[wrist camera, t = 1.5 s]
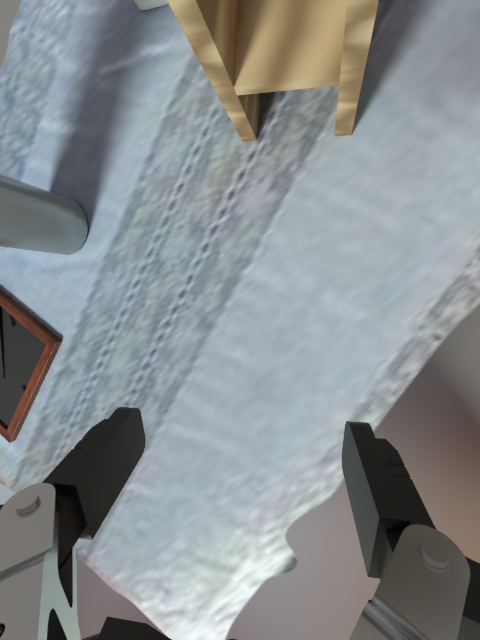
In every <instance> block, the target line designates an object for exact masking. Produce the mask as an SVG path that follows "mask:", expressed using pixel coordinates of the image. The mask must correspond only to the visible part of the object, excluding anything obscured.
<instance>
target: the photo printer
mask: <svg viewBox="0 0 480 640" xmlns="http://www.w3.org/2000/svg"><path fill="white" fill-rule="evenodd" d="M133 1H134V2H135V4H136V5H137V6H138V8H139V9H141V10H148V9H152V8H156V7H160V6H163V5H167V4H169V3H168V1H167V0H133Z"/></svg>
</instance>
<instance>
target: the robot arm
mask: <svg viewBox="0 0 480 640" xmlns="http://www.w3.org/2000/svg"><path fill="white" fill-rule="evenodd" d="M87 232H88V223H87V218H86V215H85V213H84V210H83V209H82V208H81V206H80V205H79V204H78V203H77V202H75V201H73V200H71V199H69V198H66V197H63V196H60V195H57V194H54V193H52V192H49V191H46V190H43V189H40V188H38V187H35V186H32V185H29V184H26V183H23V182H21V181H18V180H15V179H12V178H9V177H6V176H3V175H1V174H0V246H2V247H10V248H17V249H25V250H33V251H41V252H48V253H56V254H65V255H69V254H73V253H75V252H77V251H78V250H79V249H80V248H81V247H82V246H83V244H84V242H85V240H86V237H87ZM144 448H145V434H144V428H143V422H142V417H141V412H140V410H139V409H138V408H128V407H119V408H117V409H116V410H115V412H114V413H113V414H112V415H111V416H110V417H109V419H104V420H103V421H101V422H100V423H98V424H97V425H95V426H94V427H92V428H91V429H90V430H89V431H88V432H87V433H86V435H85V436H84V437H83V438H82V440H80V441H79V442H78V443H77V445H76V446H75V447H74V449H72V450H71V451H70V452H69V453H68V455H67V456H66V457H65V458H64V459H63V460H62V461H61V462H60V463H59V465H58V466H57V467H56V468H55V469H54V470H53V471H52V472H51V473H50V475H49V476H48V477H47V478H46V479H45V480H44V481H43V482H42V483H38V484H34V485H31V486H29V487H26V488H24V489H23V490H21V491H19V492H18V493H16V494H15V495H14V496H12V497H11V498H10V499H9V500H8V501H7V502H6V503H5V504H4V505H0V640H81V638H80V632H79V627H78V619H77V580H76V549H75V546H74V545H75V543H76V542H77V540H78V538H81V539H88V540H92V539H93V538H94V536H95V534H96V533H97V531H98V529H99V528H100V526H101V524H102V522H103V521H104V519H105V517H106V516H107V514H108V512H109V510H110V509H111V507H112V505H113V504H114V502H115V500H116V499H117V497H118V495H119V493H120V492H121V490H122V488H123V487H124V485H125V483H126V482H127V480H128V478H129V476H130V475H131V473H132V471H133V470H134V468H135V466H136V465H137V463H138V461H139V459H140V458H141V456H142V454H143V451H144ZM342 468H343V474H344V478H345V482H346V486H347V491H348V495H349V499H350V503H351V508H352V512H353V516H354V520H355V524H356V528H357V533H358V537H359V541H360V545H361V550H362V554H363V558H364V562H365V567H366V571H367V575H368V577H373V578H380V580H381V581H380V583H379V585H378V588H377V590H376V592H375V594H374V596H373V598H372V600H369V601H368V602H367V603H366V605H365V607H364V609H363V611H362V613H361V615H360V617H359V620H358V622H357V624H356V626H355V628H354V630H353V633H352V635H351V637H350V639H349V640H480V563H477V562H475V561H473V560H471V559H469V558H467V557H466V556H464V554H463V553H462V551H461V550H460V549H459V547H458V546H457V545H456V544H455V543H454V542H453V541H452V540H450V539H449V538H448V537H447V536H446V535H444V534H443V533H441V532H440V531H438V530H436V528H435V526H434V524H433V522H432V520H431V518H430V516H429V514H428V512H427V510H426V508H425V506H424V504H423V502H422V500H421V498H420V496H419V494H418V492H417V490H416V488H415V485H414V483H413V481H412V480H411V479H410V476H409V473H408V471H407V469H406V467H404V463H403V461H402V459H401V457H400V455H399V453H398V451H397V450H396V449H395V448H394V447H393V446H392V445H391V444H390V443H389V442H388V441H387V440H386V439H377V438H375V436H374V433H373V431H372V428H371V426H370V424H369V423H365V422H349V421H347V422H346V424H345V432H344V440H343V449H342ZM82 640H171V639H170V638H168V637H167V636H165V635H163V634H162V633H160V632H159V631H157V630H156V629H154V628H152V627H151V626H149V625H148V624H146V623H140V622H135V621H129V620H123V619H117V618H112V617H107V618H106V621H105V623H104V625H103V628H102V630H101V632H100V633H99V634H95V635H92V636H90V637H87V638H85V639H82ZM230 640H235V639H230Z"/></svg>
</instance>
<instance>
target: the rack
mask: <svg viewBox="0 0 480 640" xmlns="http://www.w3.org/2000/svg"><path fill="white" fill-rule="evenodd" d="M167 1H168V3H169V5H170V7H171V9H172V11H173V13H174V14H175V16H176V18H177V20H178V22H179V24H180V26H181V28H182V29H183V31H184V33H185V35H186V37H187V39H188V41H189V42H190V44H191V46H192V48H193V50H194V52H195V54H196V56H197V57H198V59H199V61H200V63H201V65H202V67H203V69H204V70H205V72H206V74H207V76H208V78H209V80H210V82H211V84H212V85H213V87H214V89H215V91H216V93H217V95H218V97H219V98H220V100H221V102H222V104H223V106H224V108H225V110H226V112H227V113H228V115H229V117H230V119H231V121H232V123H233V125H234V126H235V128H236V130H237V132H238V134H239V136H240V138H241V140H242V141H255V140H257V130H258V117H259V104H260V93H266V92H276V91H286V90H296V89H306V88H316V87H325V86H335V85H339V94H338V104H337V115H336V126H335V136H343V135H352V130H353V125H354V120H355V115H356V111H357V106H358V101H359V96H360V91H361V86H362V81H363V76H364V71H365V66H366V62H367V57H368V52H369V47H370V42H371V37H372V32H373V27H374V22H375V17H376V13H377V8H378V3H379V0H167Z"/></svg>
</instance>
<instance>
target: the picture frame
mask: <svg viewBox="0 0 480 640" xmlns="http://www.w3.org/2000/svg"><path fill="white" fill-rule="evenodd" d="M61 343H62V340H60V339H59V338H58V337H57V336H56V335H54V334H53V333H52V332H51V331H50V330H48V329H47V328H46V327H45V326H43V325H42V324H41V323H40V322H39V321H37V320H36V319H35V318H34V317H33V316H31V315H30V314H29V313H28V312H27V311H25V310H24V309H23V308H22V307H20V306H19V305H18V304H17V303H16V302H14V301H13V300H12V299H11V298H10V297H8V296H7V295H6V294H5V293H4V292H2V291H1V290H0V434H1V435H2V436H3V437H4V438H5V439H6V440H7V441H8V442H9V443H10V442H12V441H14V440H16V438H17V436H18V434H19V432H20V429H21V427H22V425H23V423H24V421H25V419H26V417H27V415H28V412H29V410H30V408H31V406H32V404H33V402H34V400H35V398H36V396H37V393H38V391H39V389H40V387H41V385H42V383H43V381H44V379H45V376H46V374H47V372H48V370H49V368H50V366H51V364H52V362H53V360H54V357H55V355H56V353H57V351H58V349H59V347H60V345H61Z"/></svg>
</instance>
